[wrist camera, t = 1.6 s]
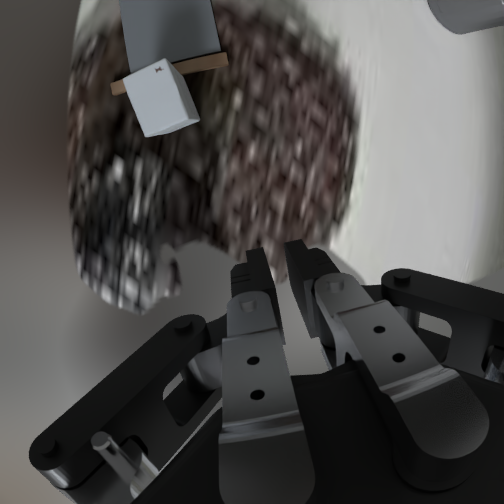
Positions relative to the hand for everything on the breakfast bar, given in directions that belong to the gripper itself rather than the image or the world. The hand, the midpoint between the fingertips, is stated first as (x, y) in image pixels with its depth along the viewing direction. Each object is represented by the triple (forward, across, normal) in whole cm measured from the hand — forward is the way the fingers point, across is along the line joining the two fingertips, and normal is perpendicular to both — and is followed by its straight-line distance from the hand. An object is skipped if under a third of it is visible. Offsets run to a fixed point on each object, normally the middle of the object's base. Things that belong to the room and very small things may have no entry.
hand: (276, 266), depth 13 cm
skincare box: (+27, +6, -10) cm, 30 cm away
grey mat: (+27, +5, -22) cm, 35 cm away
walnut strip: (+27, +6, -14) cm, 31 cm away
